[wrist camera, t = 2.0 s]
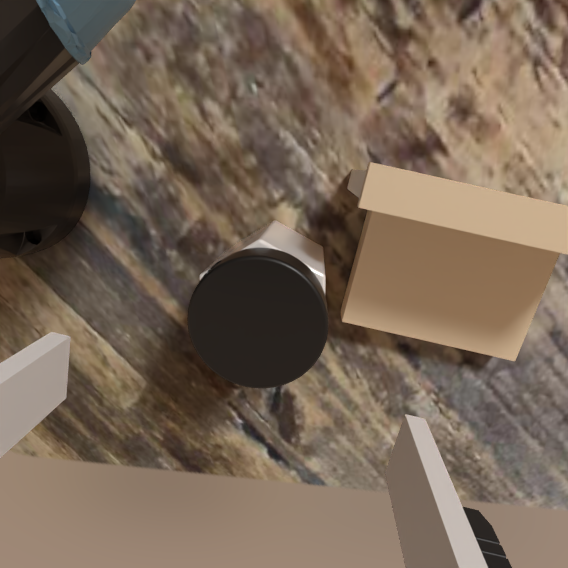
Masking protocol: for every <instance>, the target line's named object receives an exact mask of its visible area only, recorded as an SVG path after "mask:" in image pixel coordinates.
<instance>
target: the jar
mask: <svg viewBox="0 0 568 568" xmlns="http://www.w3.org/2000/svg"><path fill="white" fill-rule="evenodd" d="M199 281H200V282H199V284H198V285H197V287H196V288H195V290H194V292H193V295H192V297H191V300H190V304H189V309H188V329H189V334H190V338H191V341H192V343H193V346H194V348H195V350H196V351H197V353H198V355H199V356H200V358H201V359H202V360H203V361H204V363H205V364H206V365H207V366H208V367H209V368H210V369H211V370H212V371H214V372H215V373H216V374H218V375H219V376H221V377H222V378H224V379H226V380H228V381H230V382H232V383H235V384H238V385H241V386H245V387H251V388H272V387H277V386H281V385H284V384H287V383H289V382H292V381H294V380H296V379H297V378H299V377H300V376H302V375H303V374H305V373H306V372H307V371H308V370H309V369H310V368H311V367H312V366H313V365H314V364H315V362H316V361H317V360H318V358H319V357H320V355H321V353H322V351H323V349H324V346H325V343H326V339H327V335H328V310H327V301H326V297H325V287H326V277H325V263H324V249H323V247H322V246H321V245H319V244H317V243H315V242H313V241H312V240H310V239H308V238H306V237H304V236H303V235H301V234H299V233H297V232H295V231H294V230H292V229H290V228H288V227H287V226H285V225H283V224H281V223H279V222H278V221H272V222H270V223H269V224H267V225H266V226H264V227H262V228H261V229H259V230H257V231H256V232H254V233H252V234H251V235H249V236H247V237H246V238H244V239H242V240H241V241H239V242H238V243H236V244H234V245H233V246H231V247H230V248H228V249H227V250H226V251H225V252H224V253H223V254H222V255H221V256H220V257H219V258H218V259H217V260H215V261H214V262H213V263H212V264H211V265H210V266H209V267H208V268H207V269H206V270H205V271H204V272H203V273H201V274H200V276H199Z"/></svg>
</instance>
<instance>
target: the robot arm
mask: <svg viewBox="0 0 568 568" xmlns="http://www.w3.org/2000/svg"><path fill="white" fill-rule="evenodd" d="M135 1H136V0H0V258H12V257H18V256H23V255H26V254H30V253H33V252H36V251H40V250H43V249H45V248H48V247H50V246H52V245H54V244H55V243H57V242H59V241H60V240H61V239H63V238H64V237H65V236H66V235H67V234H68V233H69V232H70V231H71V230H72V229H73V228H74V226H75V225H76V223H77V222H78V220H79V219H80V217H81V215H82V213H83V211H84V208H85V205H86V202H87V199H88V194H89V188H90V163H89V157H88V152H87V148H86V144H85V141H84V138H83V136H82V133H81V131H80V129H79V126H78V124H77V123H76V121H75V119H74V117H73V116H72V114H71V112H70V111H69V109H68V108H67V107H66V105H65V104H64V103H63V102H62V100H61V99H60V98H59V97H58V96H57V95H56V94H55V93H54V92H53V91H52V90H51V88H52V87H53V86H54V85H55V84H56V83H57V82H59V81H60V80H61V79H62V78H63V77H64V76H65V75H66V74H68V73H69V72H70V71H71V70H72V69H73V68H74V67H75V66H77V65H78V64H79V63H80V64H82V65H83V64H85V63H86V62H87V61H88V60H89V59H90V58H91V50H92V49H93V48H94V47H95V46H96V45H97V44H98V43H99V42H100V41H101V39H102V38H103V37H104V36H105V35H106V34H107V33H108V32H109V31H110V30H111V28H112V27H113V26H114V25H115V24H116V23H117V22H118V21H119V20H120V19H121V18H122V17H123V16H124V15H125V14H126V13H127V12H128V11H129V10H130V9H131V7H132V6H133V4H134V3H135ZM69 351H70V336H67V335H63V334H58V333H54V332H50V333H49V334H47V335H45V336H44V337H42V338H41V339H39V340H37V341H36V342H34V343H32V344H31V345H29V346H28V347H26V348H24V349H23V350H21V351H19V352H18V353H16V354H15V355H13V356H11V357H10V358H8V359H6V360H5V361H3V362H2V363H0V458H1V457H2V456H3V455H4V454H5V453H7V452H8V451H9V450H10V449H11V448H12V447H13V446H14V445H15V444H16V443H17V442H19V441H20V440H21V439H22V438H23V437H24V436H25V435H26V434H27V433H28V432H29V431H31V430H32V429H33V428H34V427H35V426H36V425H37V424H38V423H39V422H40V421H42V420H43V419H44V418H45V417H46V416H47V415H48V414H49V413H50V412H51V411H52V410H54V409H55V408H56V407H57V406H58V405H59V404H60V403H61V402H62V401H63V400H65V399H66V393H67V379H68V365H69ZM385 475H386V480H387V485H388V489H389V494H390V498H391V503H392V508H393V512H394V517H395V521H396V526H397V530H398V535H399V540H400V544H401V549H402V553H403V558H404V563H405V567H406V568H512V567H511V565H510V563H509V561H508V559H506V555H505V552H504V550H503V548H502V546H501V545H499V543H500V542H499V540H498V538H497V536H496V534H495V532H494V530H493V528H492V526H491V525H490V523H489V522H488V521H487V520H486V519H485V518H484V517H483V515H482V514H481V513H480V512H479V511H478V510H474V509H470V508H466V507H462V505H461V503H460V500H459V498H458V495H457V493H456V491H455V488H454V486H453V484H452V481H451V479H450V477H449V474H448V472H447V470H446V467H445V465H444V462H443V460H442V458H441V455H440V453H439V451H438V448H437V446H436V444H435V441H434V439H433V437H432V434H431V432H430V429H429V427H428V425H427V422H426V420H425V419H424V418H419V417H415V416H411V415H406V414H405V416H404V419H403V422H402V425H401V428H400V431H399V434H398V437H397V439H396V442H395V445H394V448H393V451H392V454H391V457H390V460H389V463H388V466H387V469H386V472H385Z"/></svg>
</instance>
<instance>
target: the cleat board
mask: <svg viewBox="0 0 568 568" xmlns="http://www.w3.org/2000/svg"><path fill="white" fill-rule="evenodd" d="M347 189H348V190H349V191H351V192H352V193H353V194H354V195H356V196H357V197H358V198H359V201H358V205H357V207H358V208H362V209H367V210H368V211H367V214H366V218H365V222H364V225H363V229H362V233H361V237H360V240H359V244H358V248H357V251H356V255H355V259H354V263H353V266H352V270H351V274H350V277H349V281H348V285H347V289H346V292H345V296H344V300H343V303H342V307H341V311H340V312H341V318H342V322H346V323H350V324H354V325H359V326H363V327H368V328H372V329H376V330H381V331H385V332H389V333H394V334H398V335H403V336H407V337H411V338H416V339H420V340H424V341H429V342H433V343H438V344H442V345H446V346H451V347H455V348H460V349H464V350H468V351H473V352H477V353H481V354H486V355H490V356H495V357H499V358H503V359H508V360H512V361H515V360H516V358H517V355H518V353H519V351H520V348H521V346H522V343H523V341H524V339H525V336H526V334H527V331H528V329H529V326H530V324H531V322H532V319H533V317H534V314H535V312H536V310H537V307H538V305H539V302H540V300H541V298H542V295H543V293H544V290H545V288H546V285H547V283H548V281H549V278H550V276H551V273H552V271H553V269H554V266H555V264H556V261H557V259H558V257H559V254H560V253H563V254H568V206H565V205H561V204H556V203H551V202H547V201H542V200H538V199H533V198H529V197H524V196H520V195H515V194H511V193H506V192H502V191H497V190H493V189H488V188H484V187H479V186H475V185H470V184H466V183H461V182H457V181H452V180H448V179H443V178H439V177H434V176H430V175H425V174H421V173H416V172H412V171H407V170H403V169H398V168H394V167H389V166H385V165H380V164H376V163H371V162H369V163H368V167H367V171H363V170H353V169H352V171H351V175H350V179H349V183H348V187H347Z"/></svg>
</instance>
